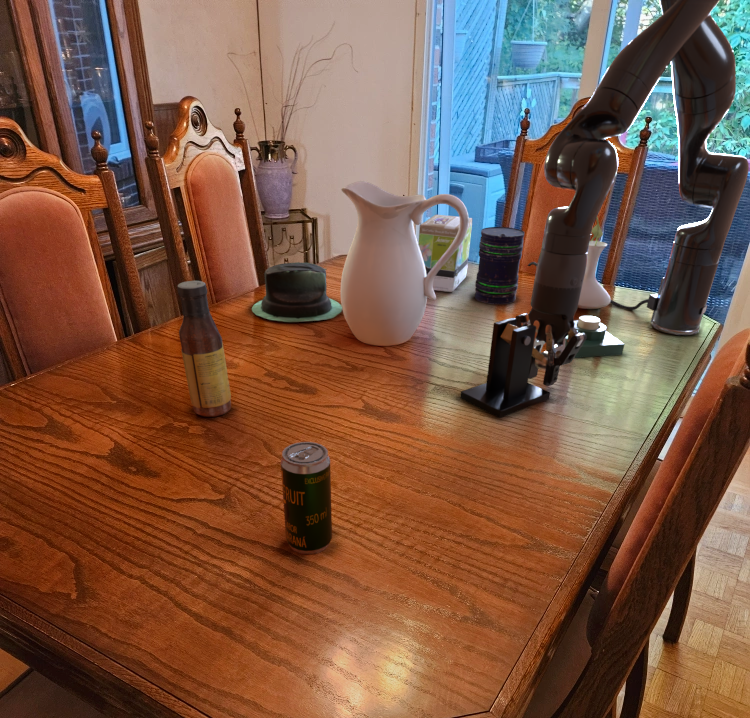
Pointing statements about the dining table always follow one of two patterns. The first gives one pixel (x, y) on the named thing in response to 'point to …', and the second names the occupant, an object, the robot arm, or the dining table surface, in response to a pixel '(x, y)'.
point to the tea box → (444, 250)
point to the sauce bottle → (203, 353)
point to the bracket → (507, 374)
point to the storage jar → (498, 265)
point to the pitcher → (390, 264)
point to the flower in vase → (593, 276)
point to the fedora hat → (296, 294)
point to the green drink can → (307, 497)
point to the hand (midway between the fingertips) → (539, 380)
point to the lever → (540, 358)
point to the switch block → (598, 342)
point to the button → (588, 322)
